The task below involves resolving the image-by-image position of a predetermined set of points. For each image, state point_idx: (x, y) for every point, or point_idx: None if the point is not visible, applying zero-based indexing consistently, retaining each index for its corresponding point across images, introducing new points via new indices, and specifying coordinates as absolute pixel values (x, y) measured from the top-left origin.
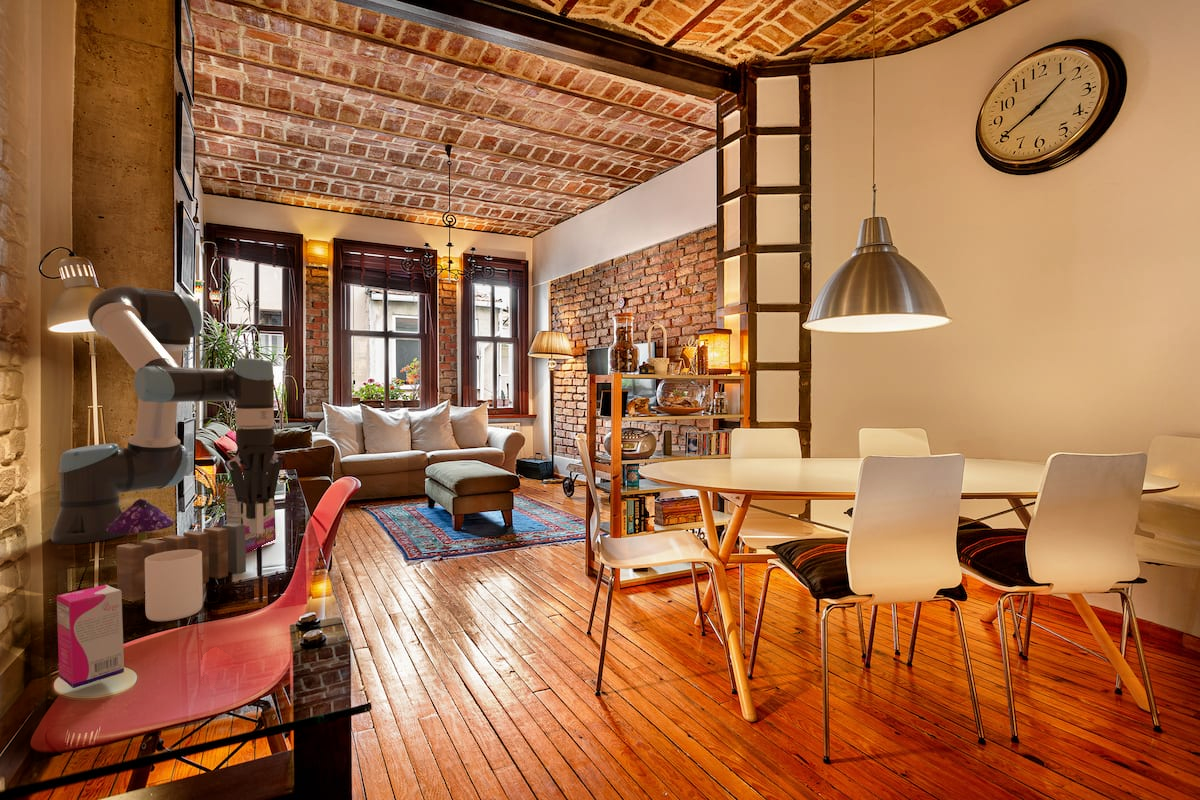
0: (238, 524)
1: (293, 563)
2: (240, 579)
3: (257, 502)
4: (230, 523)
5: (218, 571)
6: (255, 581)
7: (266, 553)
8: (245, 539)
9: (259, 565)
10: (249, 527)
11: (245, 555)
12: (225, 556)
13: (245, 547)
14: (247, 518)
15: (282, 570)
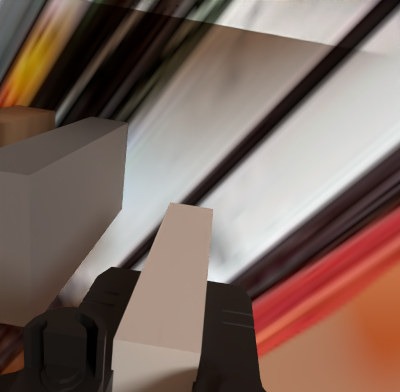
0: (29, 264)
1: (256, 289)
2: None
3: (193, 390)
4: (24, 177)
5: None
6: None
7: (380, 56)
8: (71, 275)
9: (199, 193)
10: (165, 214)
11: (100, 236)
12: None
13: (87, 253)
14: (109, 272)
15: None
